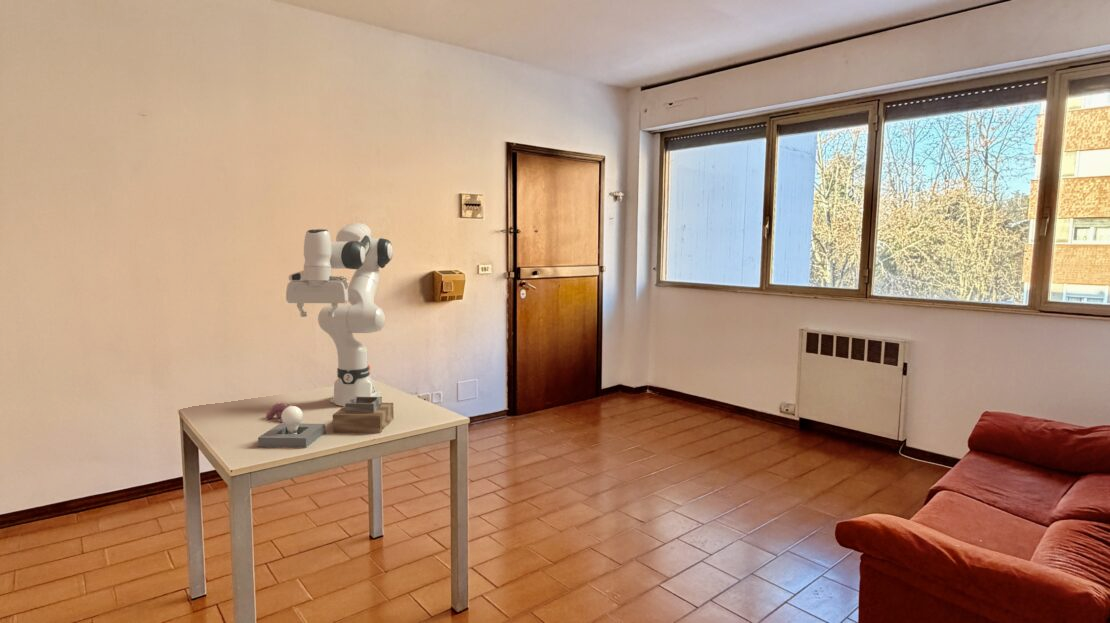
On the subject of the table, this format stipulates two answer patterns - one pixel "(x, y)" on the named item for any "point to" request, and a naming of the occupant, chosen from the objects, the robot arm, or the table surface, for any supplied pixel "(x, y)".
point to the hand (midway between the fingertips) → (317, 316)
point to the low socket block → (291, 436)
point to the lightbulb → (292, 418)
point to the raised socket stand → (363, 415)
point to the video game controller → (277, 410)
